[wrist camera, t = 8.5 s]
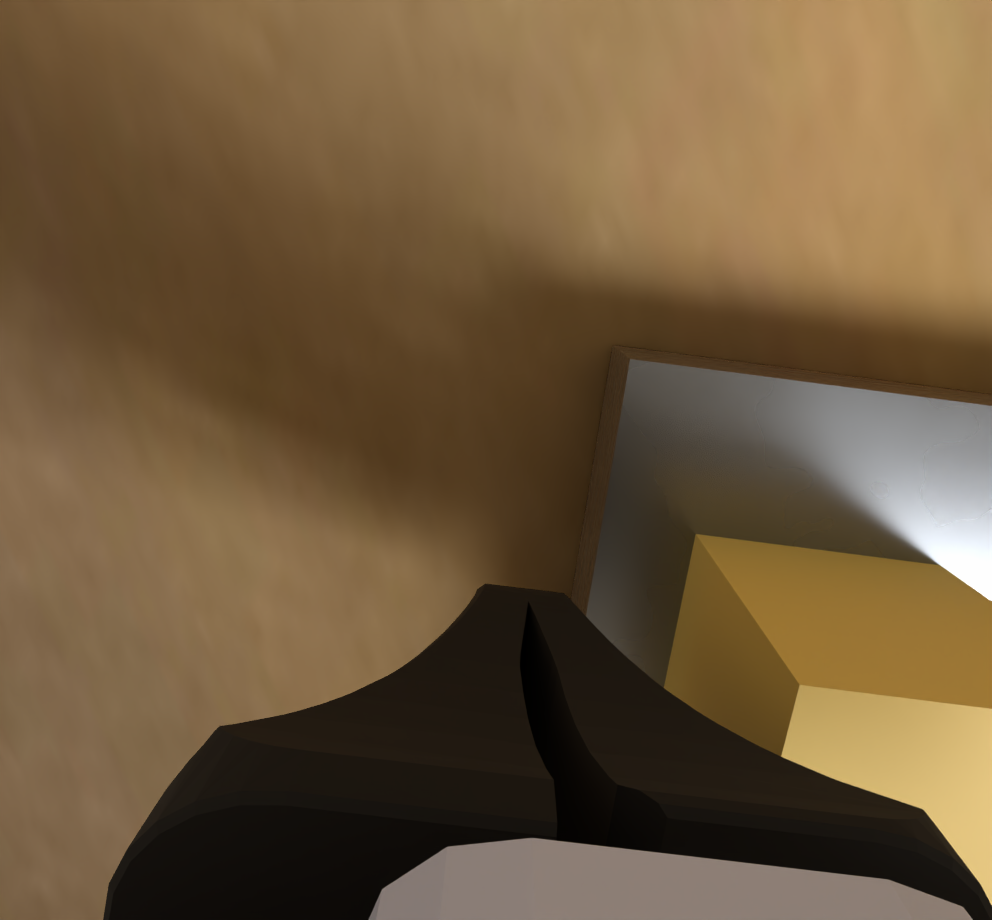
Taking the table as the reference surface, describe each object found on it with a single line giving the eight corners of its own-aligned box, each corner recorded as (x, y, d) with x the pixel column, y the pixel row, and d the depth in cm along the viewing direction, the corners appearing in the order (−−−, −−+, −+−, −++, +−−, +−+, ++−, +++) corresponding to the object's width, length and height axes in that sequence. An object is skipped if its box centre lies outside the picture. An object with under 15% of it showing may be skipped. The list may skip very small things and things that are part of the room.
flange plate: (541, 778, 16) (545, 855, 14) (612, 345, 13) (631, 360, 11) (1201, 858, 16) (1302, 945, 14) (1382, 445, 14) (1535, 476, 12)
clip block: (651, 748, 13) (720, 988, 9) (695, 534, 12) (799, 684, 8) (877, 776, 13) (1057, 1028, 9) (940, 565, 12) (1177, 731, 8)
